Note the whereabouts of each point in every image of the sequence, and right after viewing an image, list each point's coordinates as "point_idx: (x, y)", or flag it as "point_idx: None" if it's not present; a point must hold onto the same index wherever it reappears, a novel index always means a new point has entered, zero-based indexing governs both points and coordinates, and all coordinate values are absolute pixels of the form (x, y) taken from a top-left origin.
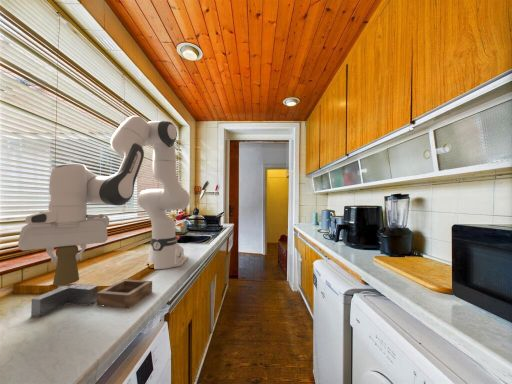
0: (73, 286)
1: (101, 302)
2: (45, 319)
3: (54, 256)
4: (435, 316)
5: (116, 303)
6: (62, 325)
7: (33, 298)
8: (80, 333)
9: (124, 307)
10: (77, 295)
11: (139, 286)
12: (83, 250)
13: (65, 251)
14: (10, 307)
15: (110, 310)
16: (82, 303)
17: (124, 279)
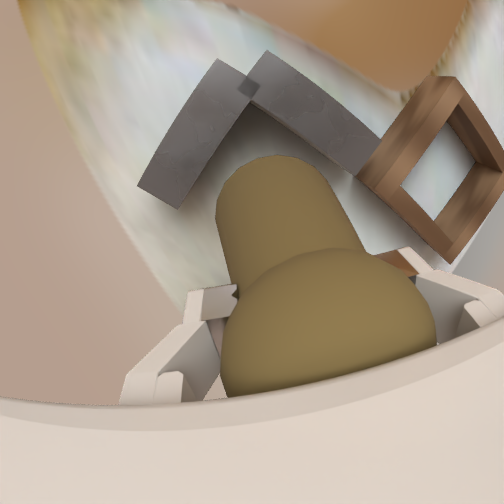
0: (271, 88)
1: (373, 191)
2: (214, 213)
3: (217, 353)
4: None
5: (411, 226)
6: None
7: (143, 186)
8: None
9: (422, 238)
10: (292, 129)
11: (485, 203)
12: (450, 335)
13: None
14: (55, 70)
15: (390, 235)
16: (307, 142)
17: (457, 82)
